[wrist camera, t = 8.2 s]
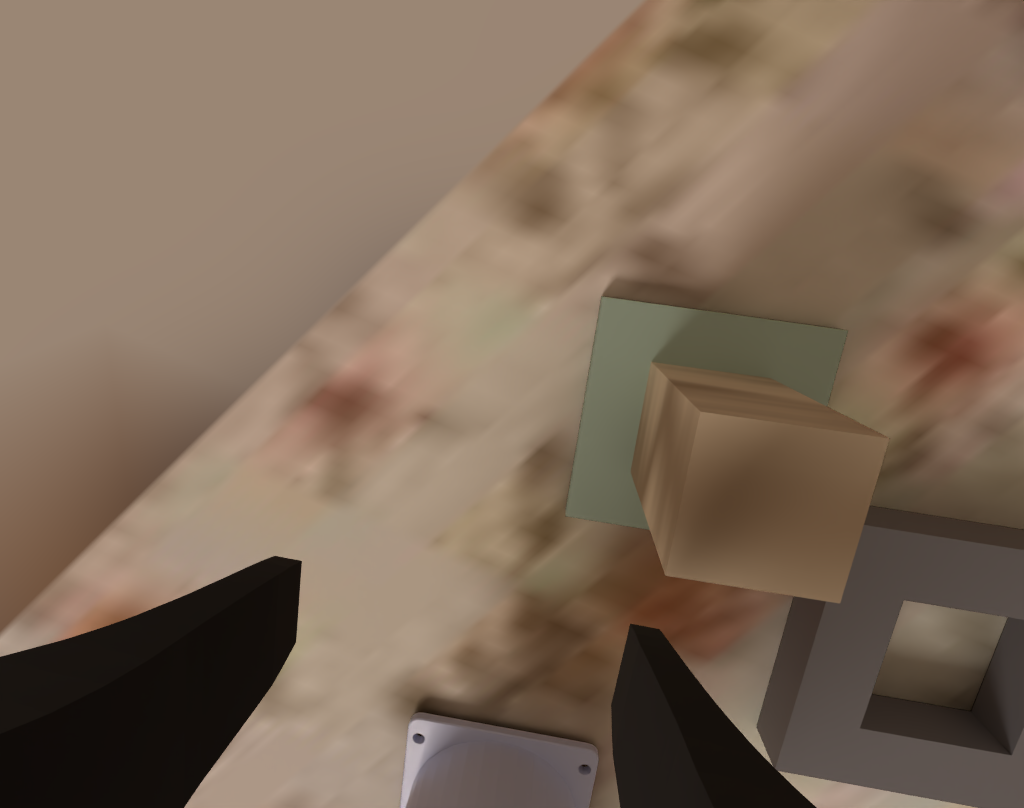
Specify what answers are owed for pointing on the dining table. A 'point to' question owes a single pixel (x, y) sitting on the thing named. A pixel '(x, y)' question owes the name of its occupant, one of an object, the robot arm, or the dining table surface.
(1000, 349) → the dining table surface
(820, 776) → the pocket plate
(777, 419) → the beech block
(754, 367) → the green mat
